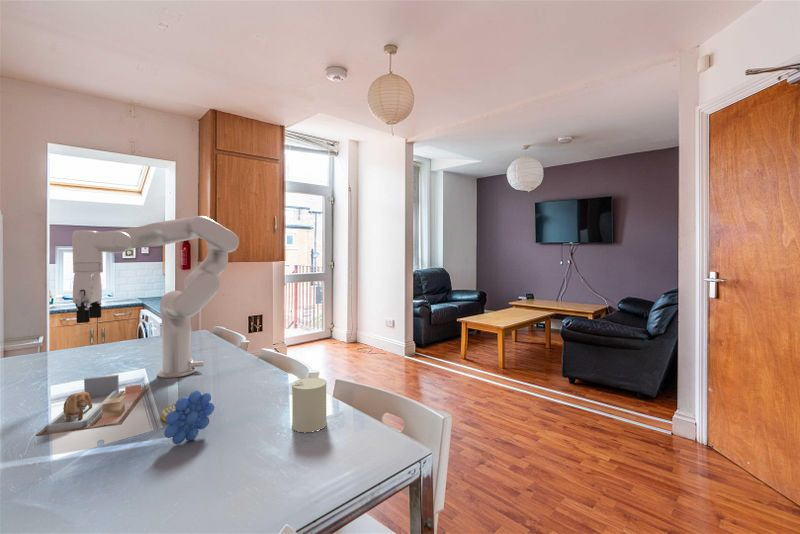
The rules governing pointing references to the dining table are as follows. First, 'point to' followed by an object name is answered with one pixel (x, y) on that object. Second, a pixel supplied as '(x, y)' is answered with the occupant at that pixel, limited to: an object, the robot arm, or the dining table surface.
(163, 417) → the decorated donut
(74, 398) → the lion figurine
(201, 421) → the grapes
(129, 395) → the broken strip
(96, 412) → the grey long open box
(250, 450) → the dining table surface
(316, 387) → the can
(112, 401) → the cube
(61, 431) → the lane rails
